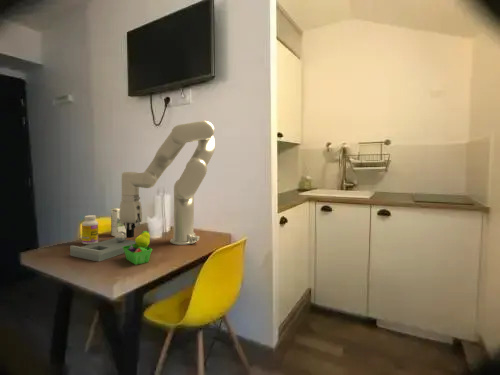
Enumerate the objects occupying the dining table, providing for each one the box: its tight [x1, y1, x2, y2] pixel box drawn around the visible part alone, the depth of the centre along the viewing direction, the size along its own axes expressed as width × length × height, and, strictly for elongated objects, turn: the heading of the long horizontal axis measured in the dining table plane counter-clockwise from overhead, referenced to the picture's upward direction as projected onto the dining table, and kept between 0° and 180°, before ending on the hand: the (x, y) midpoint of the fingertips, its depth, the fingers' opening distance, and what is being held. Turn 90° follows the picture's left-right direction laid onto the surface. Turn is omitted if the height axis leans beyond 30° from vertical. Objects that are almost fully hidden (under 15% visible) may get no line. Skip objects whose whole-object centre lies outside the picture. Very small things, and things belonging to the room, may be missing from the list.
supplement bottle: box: [81, 214, 99, 245], centre depth 134 cm, size 7×7×13 cm
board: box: [69, 237, 136, 262], centre depth 122 cm, size 16×22×4 cm
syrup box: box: [110, 207, 126, 237], centre depth 149 cm, size 6×6×14 cm
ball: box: [114, 231, 127, 242], centre depth 128 cm, size 5×5×5 cm
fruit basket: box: [123, 230, 153, 266], centre depth 111 cm, size 11×9×11 cm
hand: (130, 237), depth 133 cm, fingers closed
